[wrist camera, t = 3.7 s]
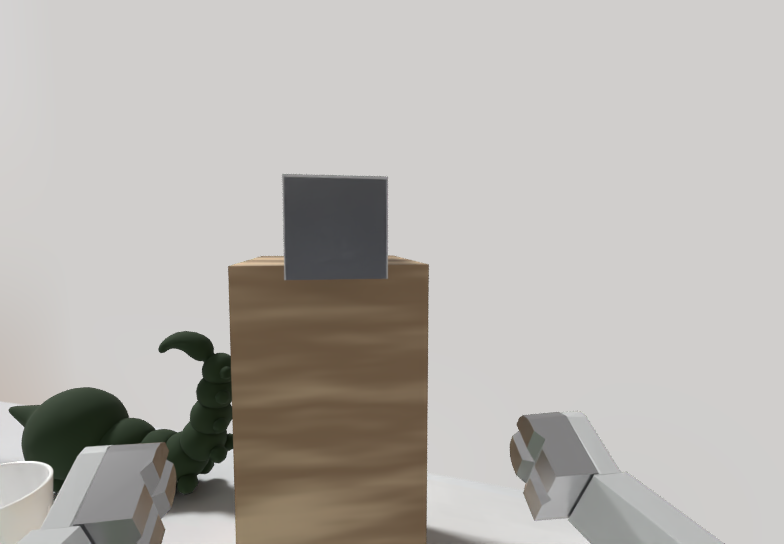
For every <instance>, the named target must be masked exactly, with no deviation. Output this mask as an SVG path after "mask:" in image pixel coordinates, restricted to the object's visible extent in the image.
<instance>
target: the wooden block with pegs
mask: <svg viewBox="0 0 784 544" xmlns="http://www.w3.org/2000/svg"><path fill="white" fill-rule="evenodd" d="M228 275H229V310H230V342H231V343H230V346H231V382H232V417H233V453H234V488H235V523H236V544H426V523H427V403H428V401H427V400H428V282H429V281H428V279H429V278H428V277H429V265H428V264H424V263H420V262H416V261H412V260H408V259H404V258H400V257H396V256H388V279H332V280H284V256H261V257H257V258H254V259H251V260H247V261H244V262H241V263H237V264H234V265H231V266H228Z"/></svg>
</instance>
